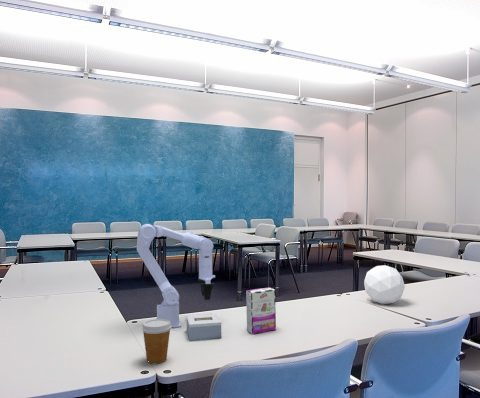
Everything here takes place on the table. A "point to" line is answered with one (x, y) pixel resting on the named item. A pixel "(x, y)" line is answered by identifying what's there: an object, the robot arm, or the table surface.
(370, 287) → the polyhedron
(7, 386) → the table surface
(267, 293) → the candy bar box
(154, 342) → the disposable coffee cup
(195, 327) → the coin box
